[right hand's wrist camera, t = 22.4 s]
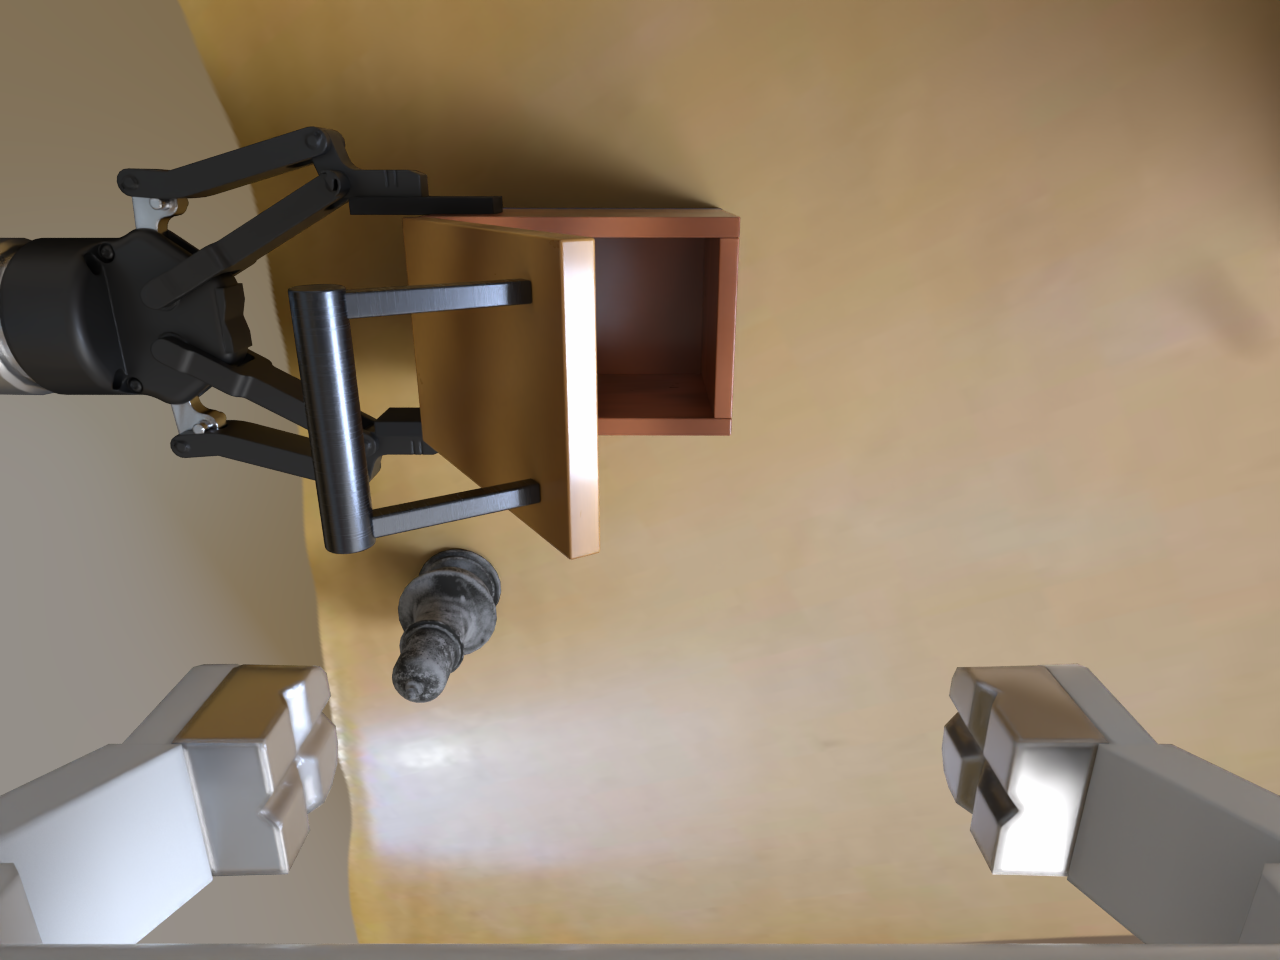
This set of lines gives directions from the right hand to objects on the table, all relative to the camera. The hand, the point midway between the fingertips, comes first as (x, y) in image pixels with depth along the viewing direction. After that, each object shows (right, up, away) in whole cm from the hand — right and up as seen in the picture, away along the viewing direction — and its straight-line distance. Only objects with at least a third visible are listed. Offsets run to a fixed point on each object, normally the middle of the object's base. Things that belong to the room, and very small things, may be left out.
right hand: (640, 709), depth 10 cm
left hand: (-7, +11, +30) cm, 32 cm away
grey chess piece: (-12, -4, +42) cm, 44 cm away
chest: (-3, +13, +36) cm, 38 cm away
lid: (-5, +7, +20) cm, 22 cm away
